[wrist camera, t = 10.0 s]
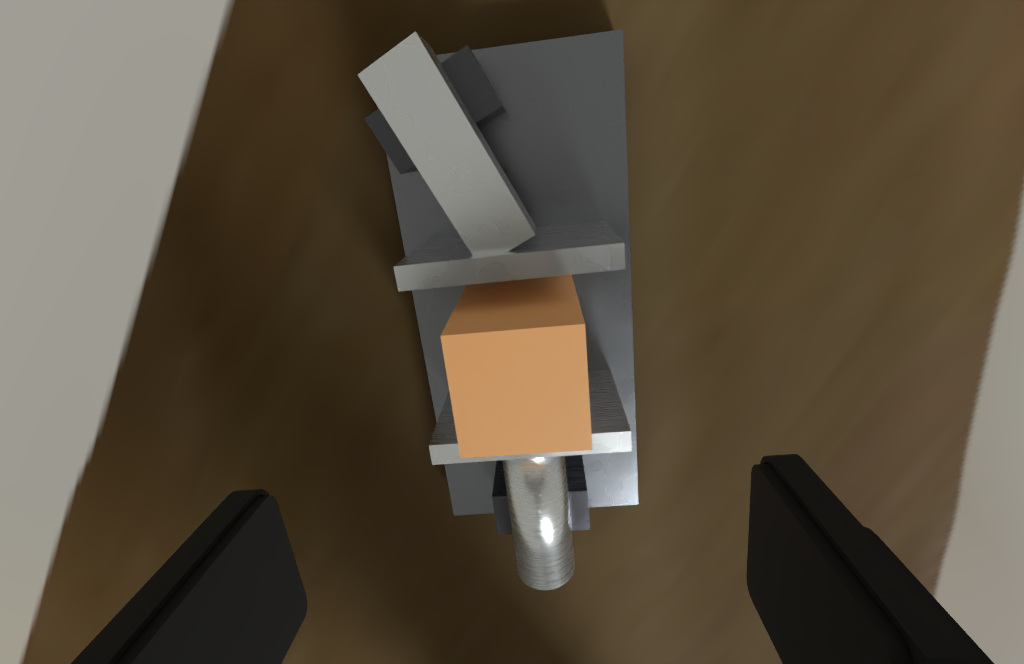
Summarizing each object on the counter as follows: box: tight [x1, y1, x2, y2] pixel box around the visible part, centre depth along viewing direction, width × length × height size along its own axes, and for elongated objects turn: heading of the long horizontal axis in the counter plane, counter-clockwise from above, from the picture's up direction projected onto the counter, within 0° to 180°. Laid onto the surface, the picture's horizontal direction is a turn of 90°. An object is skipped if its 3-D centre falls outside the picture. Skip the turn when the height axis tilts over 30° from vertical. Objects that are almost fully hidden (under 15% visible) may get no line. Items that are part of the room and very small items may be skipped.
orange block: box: [440, 275, 592, 458], centre depth 18 cm, size 4×4×7 cm
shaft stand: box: [358, 29, 638, 590], centre depth 19 cm, size 20×9×6 cm, turn 6°
